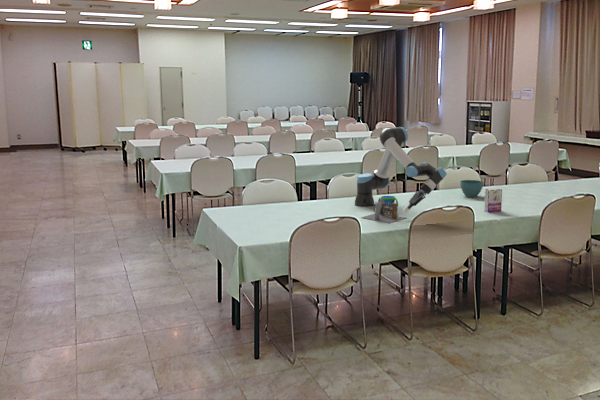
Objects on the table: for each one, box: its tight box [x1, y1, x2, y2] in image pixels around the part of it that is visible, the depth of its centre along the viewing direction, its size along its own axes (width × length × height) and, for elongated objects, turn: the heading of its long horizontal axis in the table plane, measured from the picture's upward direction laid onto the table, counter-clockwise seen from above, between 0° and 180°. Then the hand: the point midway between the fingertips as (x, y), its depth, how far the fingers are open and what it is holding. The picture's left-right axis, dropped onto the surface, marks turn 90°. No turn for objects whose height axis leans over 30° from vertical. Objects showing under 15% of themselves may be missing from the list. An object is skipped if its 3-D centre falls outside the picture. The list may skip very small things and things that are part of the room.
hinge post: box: [379, 197, 384, 215], centre depth 406 cm, size 5×5×12 cm
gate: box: [383, 202, 398, 219], centre depth 398 cm, size 14×2×10 cm, turn 28°
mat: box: [360, 213, 407, 224], centre depth 398 cm, size 24×20×1 cm
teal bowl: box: [459, 179, 484, 198], centre depth 470 cm, size 18×18×12 cm
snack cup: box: [377, 195, 399, 212], centre depth 421 cm, size 16×10×10 cm
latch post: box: [374, 201, 380, 220], centre depth 391 cm, size 5×3×12 cm, turn 172°
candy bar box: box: [484, 187, 503, 213], centre depth 415 cm, size 11×5×16 cm, turn 105°
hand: (404, 211), depth 395 cm, fingers closed
